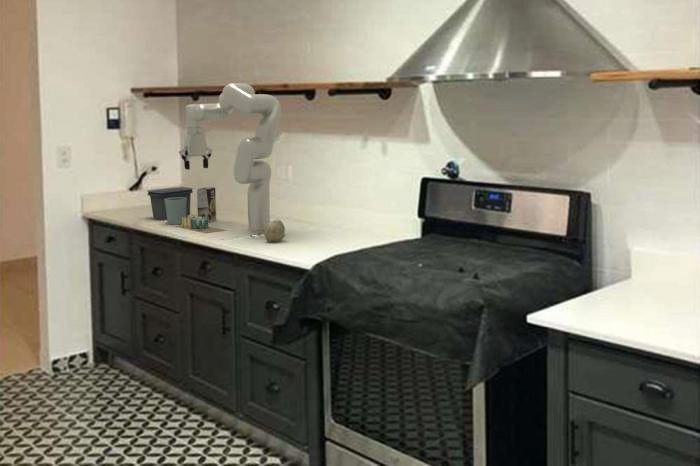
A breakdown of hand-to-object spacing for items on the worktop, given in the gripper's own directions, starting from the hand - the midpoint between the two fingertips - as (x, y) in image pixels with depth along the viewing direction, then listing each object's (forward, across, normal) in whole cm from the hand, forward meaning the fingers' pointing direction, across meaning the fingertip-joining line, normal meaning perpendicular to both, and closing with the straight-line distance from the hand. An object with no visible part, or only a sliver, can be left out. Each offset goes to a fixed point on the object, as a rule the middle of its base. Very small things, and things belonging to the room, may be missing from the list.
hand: (196, 168), depth 378 cm
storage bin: (+27, -2, -31) cm, 41 cm away
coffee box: (+27, -9, -6) cm, 29 cm away
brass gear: (+25, +10, +9) cm, 28 cm away
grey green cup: (+27, +6, -11) cm, 29 cm away
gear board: (+26, +10, +18) cm, 34 cm away
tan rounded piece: (+26, +1, +61) cm, 67 cm away
